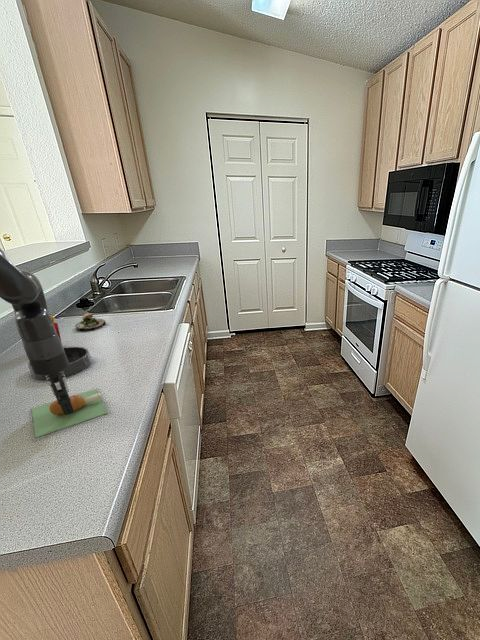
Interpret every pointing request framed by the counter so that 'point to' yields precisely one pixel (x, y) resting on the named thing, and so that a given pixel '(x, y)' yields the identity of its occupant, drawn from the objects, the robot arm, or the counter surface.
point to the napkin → (65, 416)
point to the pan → (71, 362)
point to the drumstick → (74, 403)
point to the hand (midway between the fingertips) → (67, 406)
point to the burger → (89, 322)
